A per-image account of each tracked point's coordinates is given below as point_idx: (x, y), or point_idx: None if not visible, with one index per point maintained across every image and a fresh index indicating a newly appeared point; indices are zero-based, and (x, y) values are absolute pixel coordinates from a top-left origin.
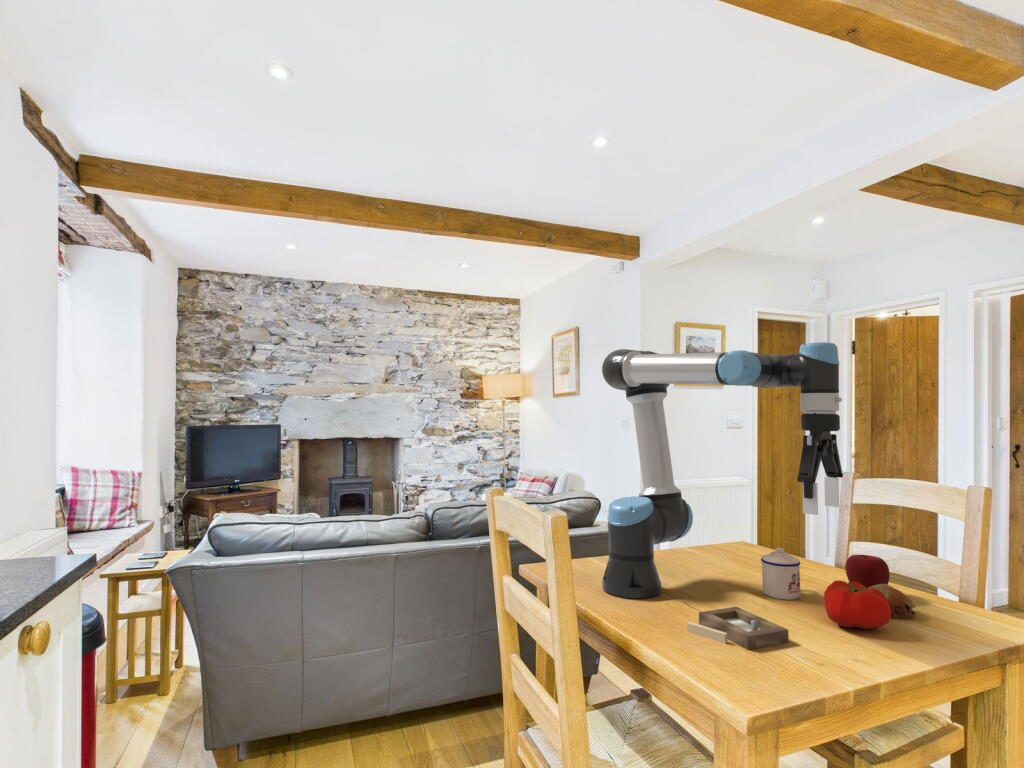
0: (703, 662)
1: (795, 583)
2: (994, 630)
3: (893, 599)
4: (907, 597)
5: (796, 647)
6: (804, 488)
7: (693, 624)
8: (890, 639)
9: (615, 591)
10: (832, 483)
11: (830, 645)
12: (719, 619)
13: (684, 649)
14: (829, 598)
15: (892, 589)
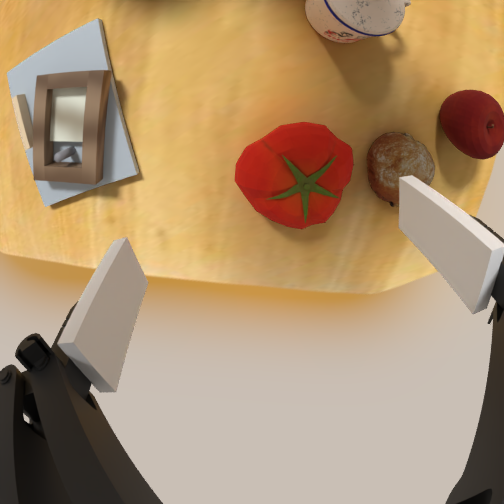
0: (6, 160)
1: (345, 37)
2: (408, 268)
3: (388, 192)
4: None
5: None
6: (59, 337)
7: (14, 105)
8: None
9: None
10: (460, 271)
11: (174, 190)
12: (40, 112)
13: (7, 122)
14: (246, 160)
15: None
